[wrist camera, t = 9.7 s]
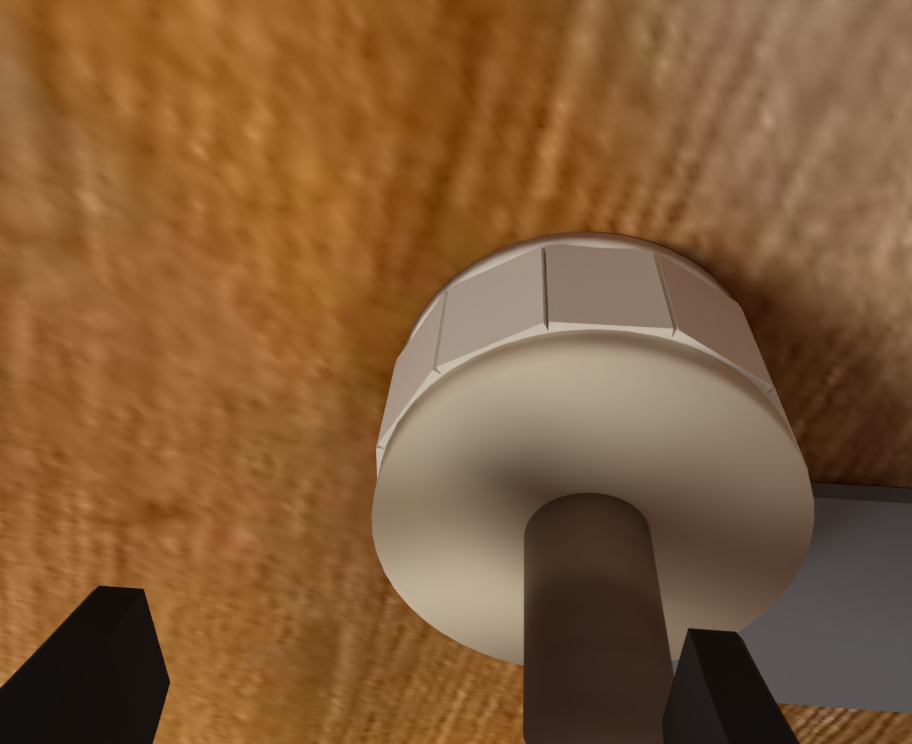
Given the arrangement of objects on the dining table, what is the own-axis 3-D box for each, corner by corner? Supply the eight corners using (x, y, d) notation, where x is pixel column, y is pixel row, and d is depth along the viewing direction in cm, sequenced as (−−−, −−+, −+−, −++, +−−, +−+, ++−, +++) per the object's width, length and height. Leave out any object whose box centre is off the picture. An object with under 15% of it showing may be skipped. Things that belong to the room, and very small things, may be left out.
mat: (919, 697, 27) (927, 714, 27) (643, 676, 28) (646, 692, 27) (1035, 496, 22) (1046, 512, 22) (694, 474, 23) (698, 489, 22)
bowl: (717, 529, 24) (747, 647, 20) (402, 508, 24) (383, 621, 21) (799, 242, 19) (857, 339, 15) (397, 221, 19) (371, 311, 16)
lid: (762, 642, 20) (828, 879, 16) (396, 632, 21) (362, 855, 17) (843, 328, 15) (973, 549, 11) (356, 329, 16) (291, 536, 12)
